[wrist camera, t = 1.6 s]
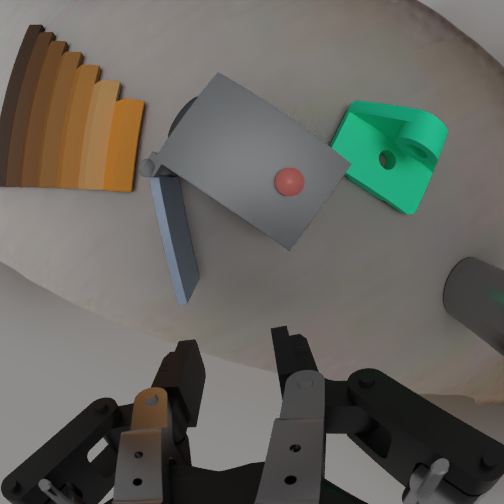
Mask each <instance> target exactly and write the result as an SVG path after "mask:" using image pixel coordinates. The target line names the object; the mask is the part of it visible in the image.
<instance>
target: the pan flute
mask: <svg viewBox="0 0 504 504" xmlns="http://www.w3.org/2000/svg"><path fill="white" fill-rule="evenodd" d="M44 30H45V28H44V27H43V26H42V25H29V27H28V29H27V32H26V34H25V36H24V39H23V41H22V44H21V47H20V49H19V52H18V55H17V58H16V61H15V64H14V67H13V70H12V73H11V76H10V80H9V83H8V87H7V91H6V95H5V99H4V103H3V107H2V112H1V117H0V187H3V186H5V187H39V188H52V187H56V188H79V189H86V190H108V191H124V192H132V191H133V181H134V171H135V163H136V155H137V148H138V141H139V134H140V128H141V122H142V116H143V111H144V106H145V103H144V101H141V100H134V99H127V98H124V99H122V100H119V95H120V91H121V83H120V82H118V81H109V80H101V81H99V77H100V73H101V69H100V66H96V65H85V64H82V62H83V58H84V56H83V55H82V53H81V52H67V50H68V47H69V45H68V44H67V42H65V41H55V38H56V36H55V35H54V33H53V32H44ZM98 81H99V82H98ZM118 100H119V101H118Z"/></svg>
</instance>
